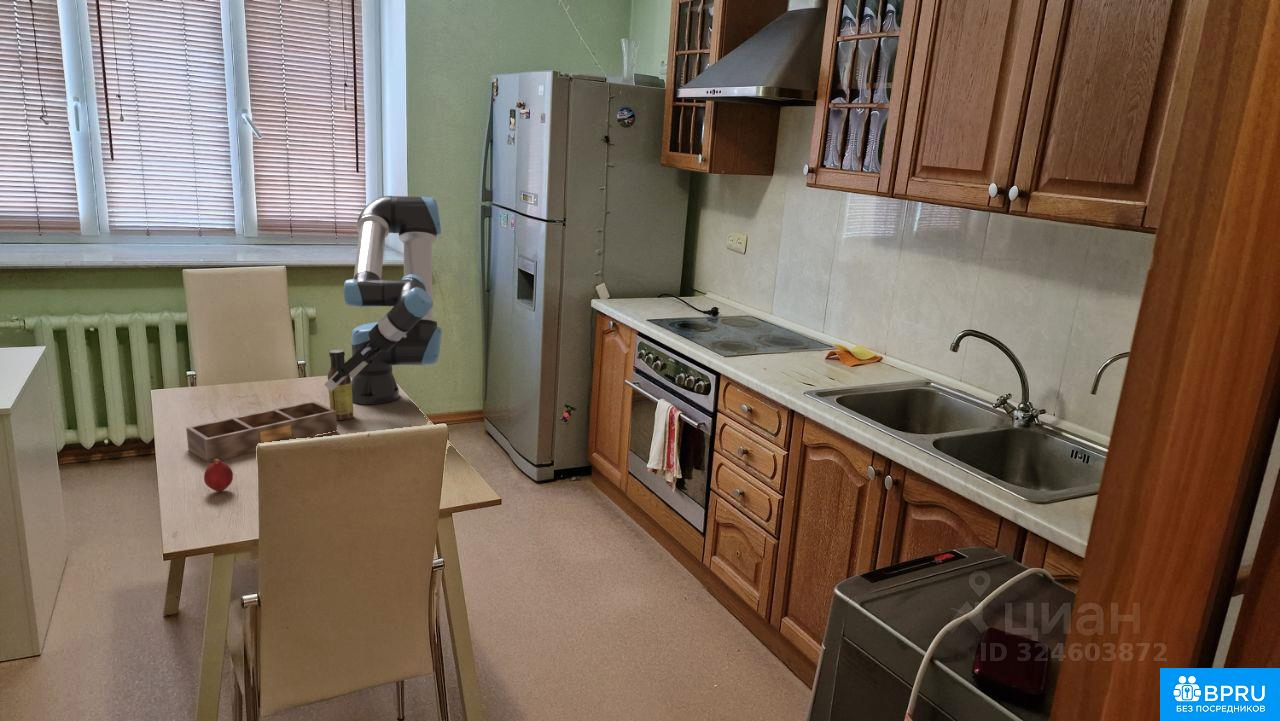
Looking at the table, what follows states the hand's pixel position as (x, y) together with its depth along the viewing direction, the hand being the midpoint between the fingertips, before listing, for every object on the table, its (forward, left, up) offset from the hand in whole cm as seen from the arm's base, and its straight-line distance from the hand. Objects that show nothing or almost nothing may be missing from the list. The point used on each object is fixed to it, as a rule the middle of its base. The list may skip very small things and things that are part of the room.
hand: (338, 381), depth 234 cm
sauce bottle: (-1, -1, -11) cm, 11 cm away
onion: (+45, +28, -11) cm, 55 cm away
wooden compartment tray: (+23, +3, -11) cm, 26 cm away
